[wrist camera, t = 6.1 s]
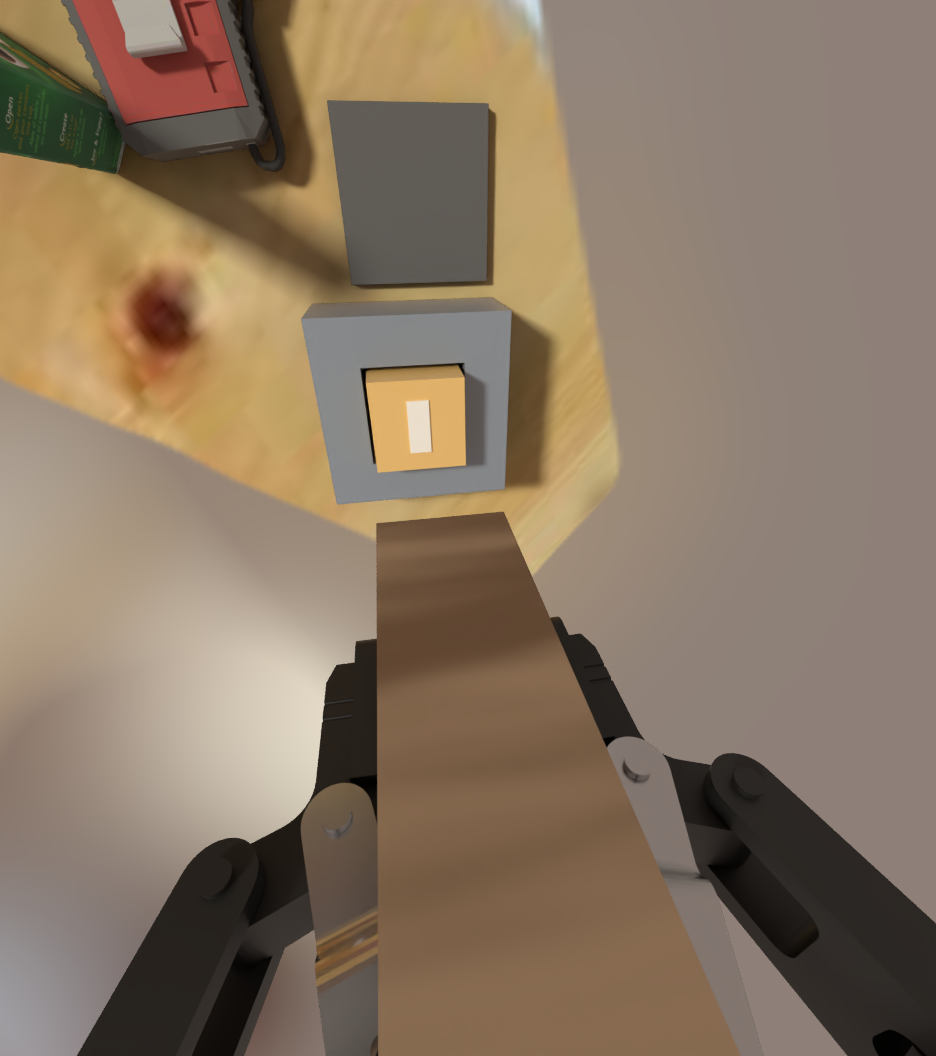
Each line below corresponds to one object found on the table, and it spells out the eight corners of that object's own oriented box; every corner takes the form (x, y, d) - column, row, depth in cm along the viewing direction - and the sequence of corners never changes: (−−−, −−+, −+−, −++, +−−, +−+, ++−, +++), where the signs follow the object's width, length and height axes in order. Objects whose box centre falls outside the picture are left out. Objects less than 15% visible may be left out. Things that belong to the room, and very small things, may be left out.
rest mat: (328, 102, 23) (327, 100, 23) (486, 105, 24) (488, 103, 24) (352, 283, 28) (351, 284, 27) (484, 279, 29) (486, 280, 28)
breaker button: (366, 363, 28) (365, 383, 24) (454, 358, 28) (464, 377, 25) (377, 445, 30) (377, 473, 27) (456, 439, 31) (466, 466, 28)
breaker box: (311, 303, 28) (301, 318, 24) (492, 297, 29) (511, 310, 25) (341, 469, 34) (336, 504, 30) (489, 457, 35) (504, 489, 31)
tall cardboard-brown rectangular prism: (376, 523, 14) (379, 1199, 4) (503, 511, 15) (756, 1091, 5) (389, 617, 17) (409, 1207, 7) (499, 604, 17) (669, 1133, 7)
